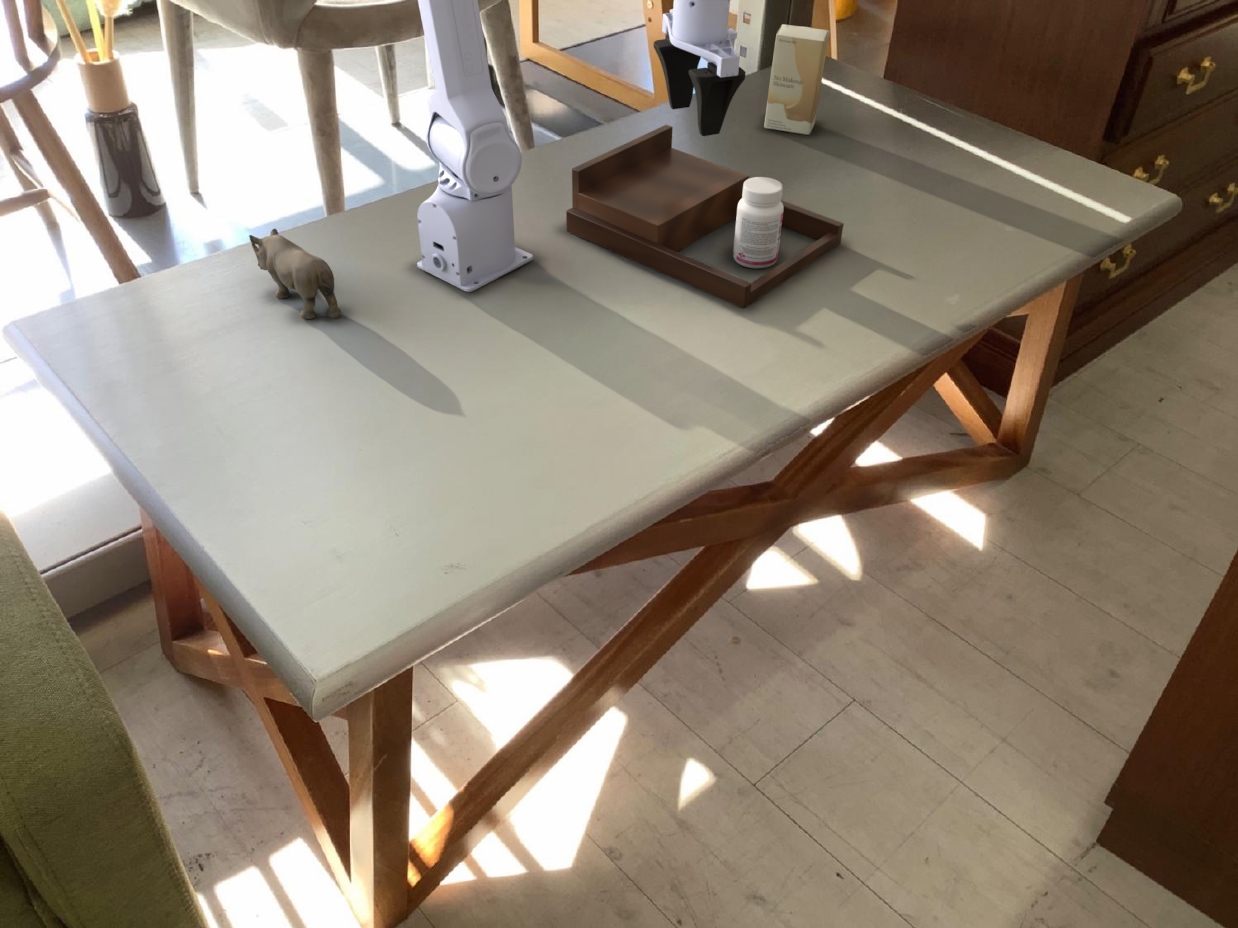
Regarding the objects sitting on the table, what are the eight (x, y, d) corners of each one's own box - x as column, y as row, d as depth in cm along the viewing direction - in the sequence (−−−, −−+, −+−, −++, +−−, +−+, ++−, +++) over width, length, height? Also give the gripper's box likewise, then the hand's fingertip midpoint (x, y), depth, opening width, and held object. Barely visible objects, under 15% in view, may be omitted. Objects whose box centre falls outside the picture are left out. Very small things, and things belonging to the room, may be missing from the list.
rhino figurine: (277, 261, 115) (267, 209, 112) (350, 314, 108) (341, 259, 104) (242, 275, 113) (229, 221, 109) (313, 329, 106) (303, 274, 102)
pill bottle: (785, 265, 116) (795, 191, 111) (745, 273, 115) (752, 198, 110) (764, 245, 120) (772, 172, 114) (725, 252, 118) (731, 178, 113)
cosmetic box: (763, 129, 144) (773, 33, 136) (769, 117, 147) (779, 23, 139) (812, 136, 142) (825, 40, 135) (817, 123, 146) (830, 28, 138)
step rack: (743, 308, 110) (750, 245, 105) (566, 231, 122) (565, 171, 117) (840, 244, 120) (850, 184, 116) (668, 178, 132) (671, 122, 128)
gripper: (771, 7, 107) (758, 141, 116) (707, -34, 118) (699, 91, 126) (705, 15, 105) (697, 150, 114) (646, -28, 116) (642, 99, 124)
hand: (694, 120), depth 120 cm, fingers open, 7 cm apart
